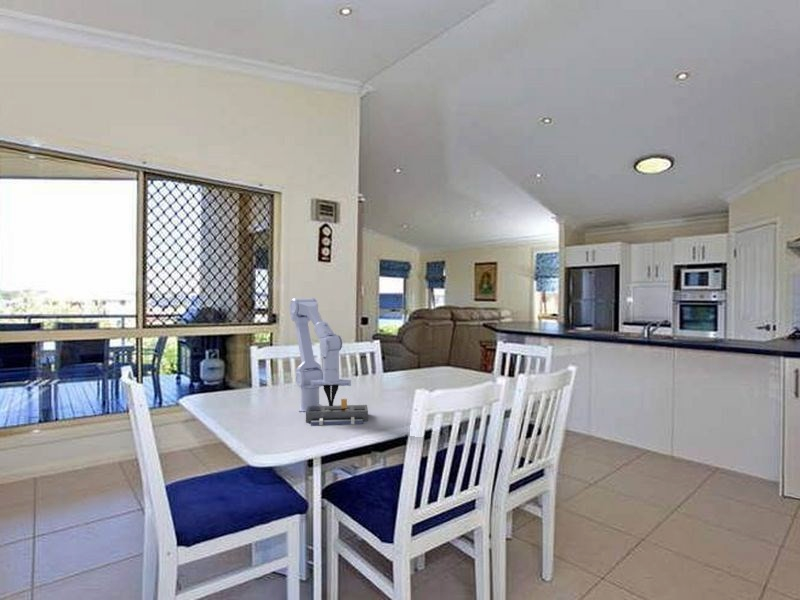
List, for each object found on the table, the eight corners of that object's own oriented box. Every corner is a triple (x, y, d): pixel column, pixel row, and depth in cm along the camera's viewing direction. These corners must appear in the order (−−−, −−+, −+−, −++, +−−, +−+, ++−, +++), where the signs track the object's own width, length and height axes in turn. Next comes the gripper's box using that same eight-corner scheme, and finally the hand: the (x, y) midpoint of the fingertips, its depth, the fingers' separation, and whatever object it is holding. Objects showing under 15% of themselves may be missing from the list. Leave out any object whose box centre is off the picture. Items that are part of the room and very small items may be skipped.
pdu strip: (308, 415, 176) (308, 405, 176) (366, 414, 179) (367, 404, 179) (305, 422, 168) (305, 412, 167) (367, 420, 170) (368, 410, 170)
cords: (311, 422, 168) (311, 417, 168) (362, 421, 170) (362, 416, 169) (310, 425, 164) (310, 420, 164) (362, 424, 166) (362, 419, 166)
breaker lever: (341, 406, 174) (341, 398, 174) (346, 406, 175) (346, 398, 175) (341, 408, 172) (341, 400, 172) (346, 408, 172) (346, 400, 172)
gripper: (310, 370, 168) (310, 408, 168) (351, 370, 169) (351, 407, 170) (311, 367, 175) (311, 403, 175) (350, 366, 176) (350, 403, 177)
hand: (331, 405), depth 173 cm, fingers closed
